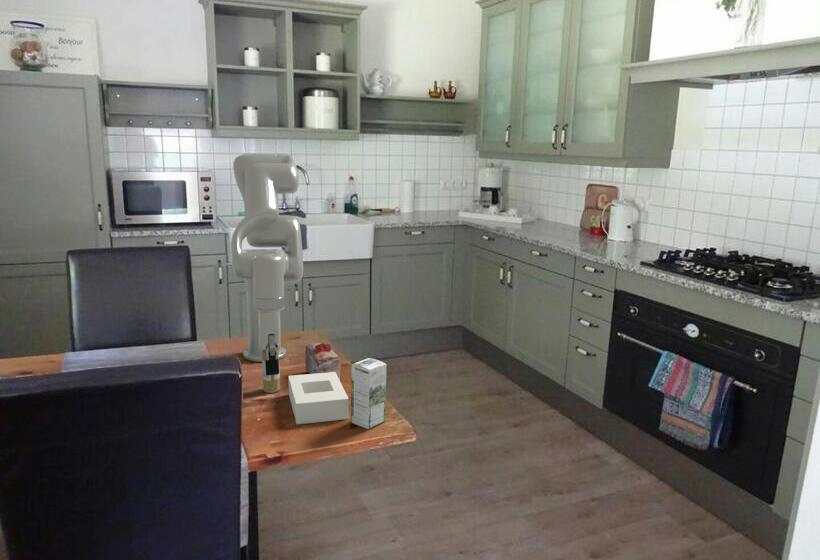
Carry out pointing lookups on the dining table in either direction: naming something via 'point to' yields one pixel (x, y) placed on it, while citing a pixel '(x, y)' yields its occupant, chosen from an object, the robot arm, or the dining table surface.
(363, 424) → the syrup box
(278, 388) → the sprinkles bottle
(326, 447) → the dining table surface
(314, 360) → the food item
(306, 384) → the socket block
